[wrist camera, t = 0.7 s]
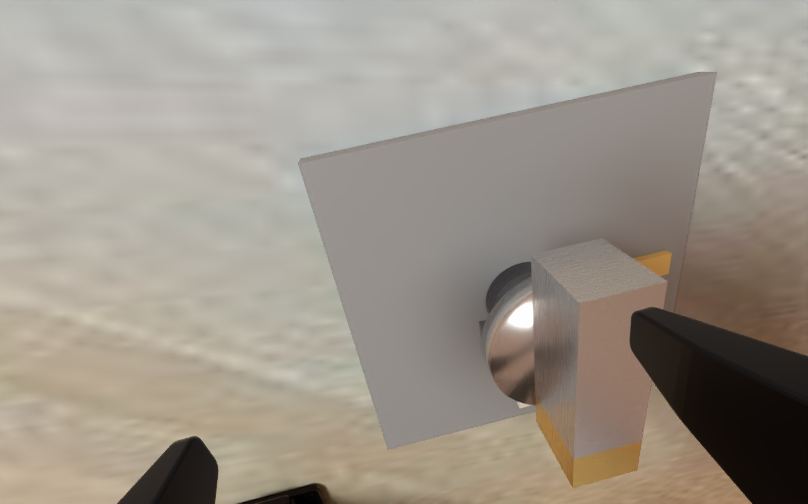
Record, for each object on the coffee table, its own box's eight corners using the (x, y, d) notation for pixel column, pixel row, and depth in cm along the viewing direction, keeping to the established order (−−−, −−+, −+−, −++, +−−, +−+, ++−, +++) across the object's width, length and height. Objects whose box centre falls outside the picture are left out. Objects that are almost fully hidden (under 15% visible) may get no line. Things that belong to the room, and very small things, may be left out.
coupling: (611, 378, 21) (681, 458, 17) (488, 410, 21) (527, 500, 17) (627, 214, 17) (727, 266, 12) (469, 251, 16) (516, 318, 12)
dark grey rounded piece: (573, 312, 23) (604, 345, 21) (472, 338, 23) (490, 374, 20) (575, 249, 21) (609, 276, 19) (464, 276, 21) (483, 307, 18)
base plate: (652, 368, 28) (666, 382, 27) (386, 437, 27) (388, 455, 26) (699, 71, 19) (724, 72, 18) (300, 158, 18) (297, 166, 17)
